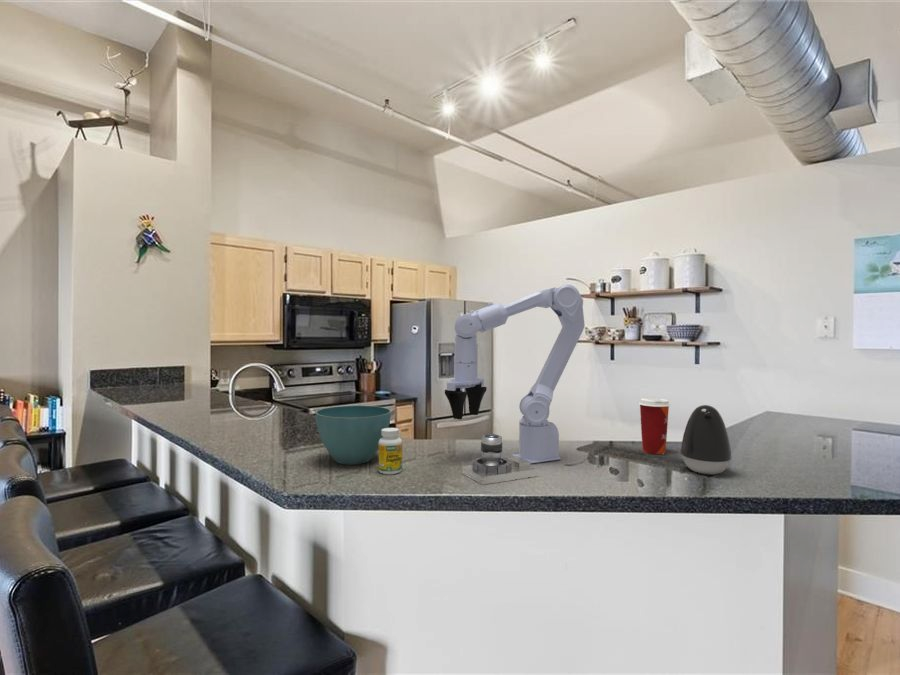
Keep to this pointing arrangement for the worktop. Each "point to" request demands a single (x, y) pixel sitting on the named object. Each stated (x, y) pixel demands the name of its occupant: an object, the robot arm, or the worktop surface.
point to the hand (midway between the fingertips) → (466, 416)
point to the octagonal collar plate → (500, 470)
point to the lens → (491, 449)
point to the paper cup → (654, 424)
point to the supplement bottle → (390, 451)
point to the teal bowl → (352, 431)
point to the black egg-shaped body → (706, 442)
